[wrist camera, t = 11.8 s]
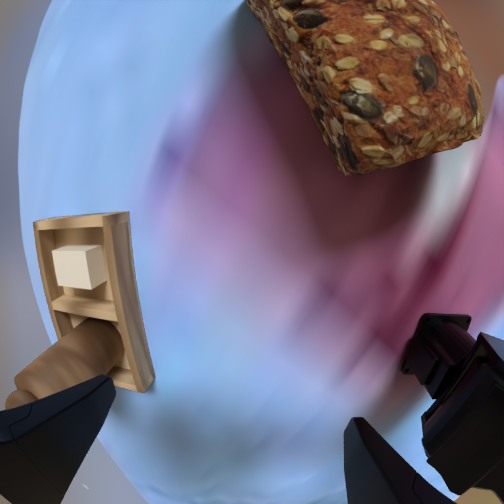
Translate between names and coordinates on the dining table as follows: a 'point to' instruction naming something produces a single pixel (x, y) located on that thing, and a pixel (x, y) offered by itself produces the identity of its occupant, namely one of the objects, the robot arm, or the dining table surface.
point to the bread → (377, 77)
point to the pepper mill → (69, 361)
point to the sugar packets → (79, 266)
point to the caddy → (98, 288)
